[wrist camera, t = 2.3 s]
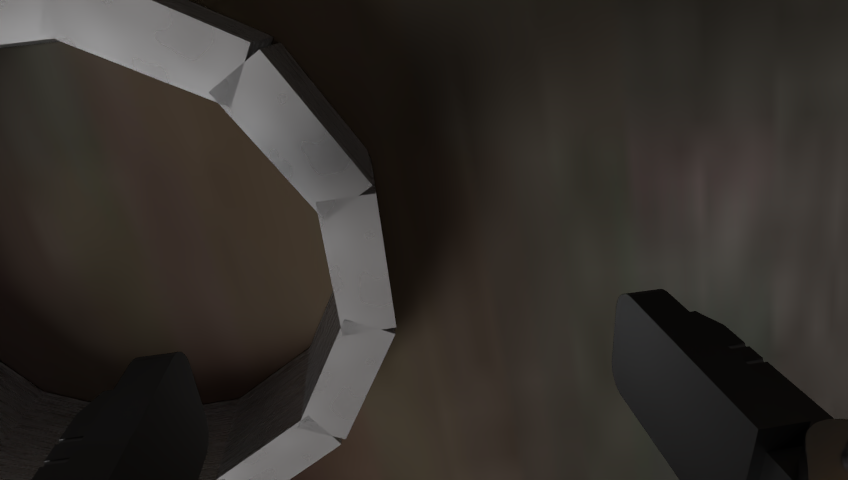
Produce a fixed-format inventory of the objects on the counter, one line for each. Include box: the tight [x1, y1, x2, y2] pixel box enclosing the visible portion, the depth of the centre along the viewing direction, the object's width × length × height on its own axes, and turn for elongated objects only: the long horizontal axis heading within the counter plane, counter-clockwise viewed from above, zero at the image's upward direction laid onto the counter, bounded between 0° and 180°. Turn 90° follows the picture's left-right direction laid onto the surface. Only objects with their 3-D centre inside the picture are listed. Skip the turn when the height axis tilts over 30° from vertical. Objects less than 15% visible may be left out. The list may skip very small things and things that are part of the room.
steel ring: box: [0, 0, 396, 480], centre depth 16 cm, size 17×17×4 cm
